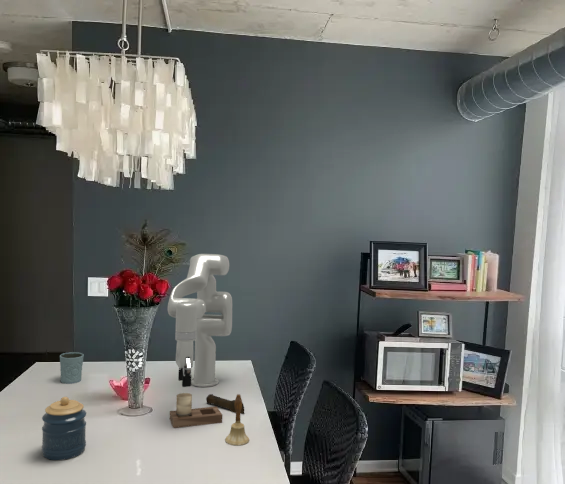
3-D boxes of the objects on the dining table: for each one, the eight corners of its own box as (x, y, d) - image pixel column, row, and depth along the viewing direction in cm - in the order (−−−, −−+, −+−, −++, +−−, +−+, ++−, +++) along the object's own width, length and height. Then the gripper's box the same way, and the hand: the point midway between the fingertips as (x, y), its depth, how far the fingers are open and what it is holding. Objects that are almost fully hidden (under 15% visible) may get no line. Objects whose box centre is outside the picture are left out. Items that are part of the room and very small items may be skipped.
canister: (63, 440, 173) (64, 388, 173) (94, 447, 169) (95, 393, 168) (32, 456, 161) (32, 400, 160) (64, 464, 156) (65, 406, 156)
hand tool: (205, 404, 211) (205, 393, 211) (212, 402, 214) (212, 391, 214) (239, 416, 199) (239, 405, 199) (246, 414, 203) (246, 402, 202)
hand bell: (253, 442, 176) (254, 396, 175) (231, 447, 172) (232, 400, 171) (243, 433, 183) (244, 389, 182) (221, 438, 179) (222, 392, 178)
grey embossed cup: (65, 377, 240) (66, 351, 240) (87, 378, 240) (87, 352, 239) (55, 384, 230) (55, 357, 230) (77, 385, 230) (77, 358, 229)
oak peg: (174, 420, 193) (175, 393, 193) (189, 418, 195) (190, 392, 195) (177, 425, 188) (177, 398, 188) (192, 424, 190) (193, 397, 190)
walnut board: (169, 419, 194) (169, 411, 194) (216, 413, 201) (216, 406, 201) (173, 428, 186) (173, 419, 186) (222, 422, 192) (222, 414, 192)
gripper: (171, 331, 197) (170, 377, 198) (179, 341, 181) (178, 391, 182) (191, 330, 200) (190, 375, 201) (200, 340, 184) (199, 389, 184)
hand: (184, 382), depth 191 cm, fingers open, 6 cm apart
